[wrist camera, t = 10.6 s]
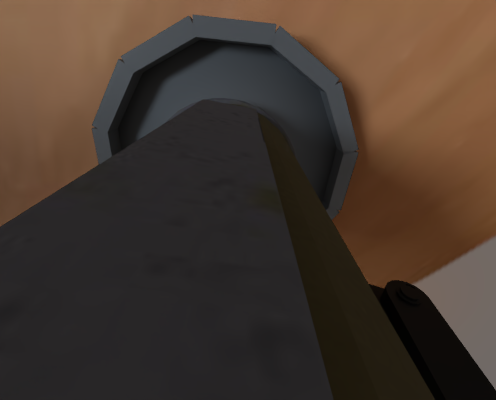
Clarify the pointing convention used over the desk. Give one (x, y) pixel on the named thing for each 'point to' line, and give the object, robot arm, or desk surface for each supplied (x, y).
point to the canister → (193, 278)
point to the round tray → (234, 93)
